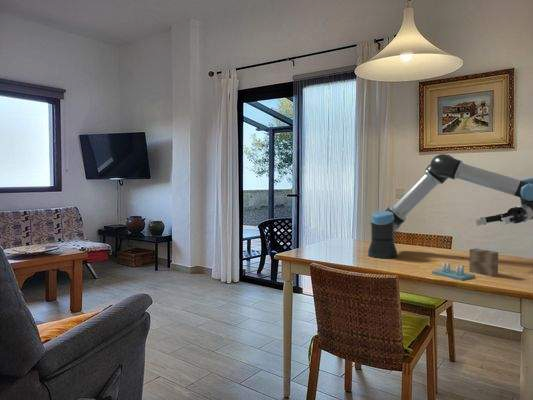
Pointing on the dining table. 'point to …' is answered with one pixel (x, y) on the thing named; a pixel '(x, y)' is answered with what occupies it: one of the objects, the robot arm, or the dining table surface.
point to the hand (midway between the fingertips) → (489, 222)
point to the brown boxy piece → (483, 262)
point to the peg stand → (453, 272)
